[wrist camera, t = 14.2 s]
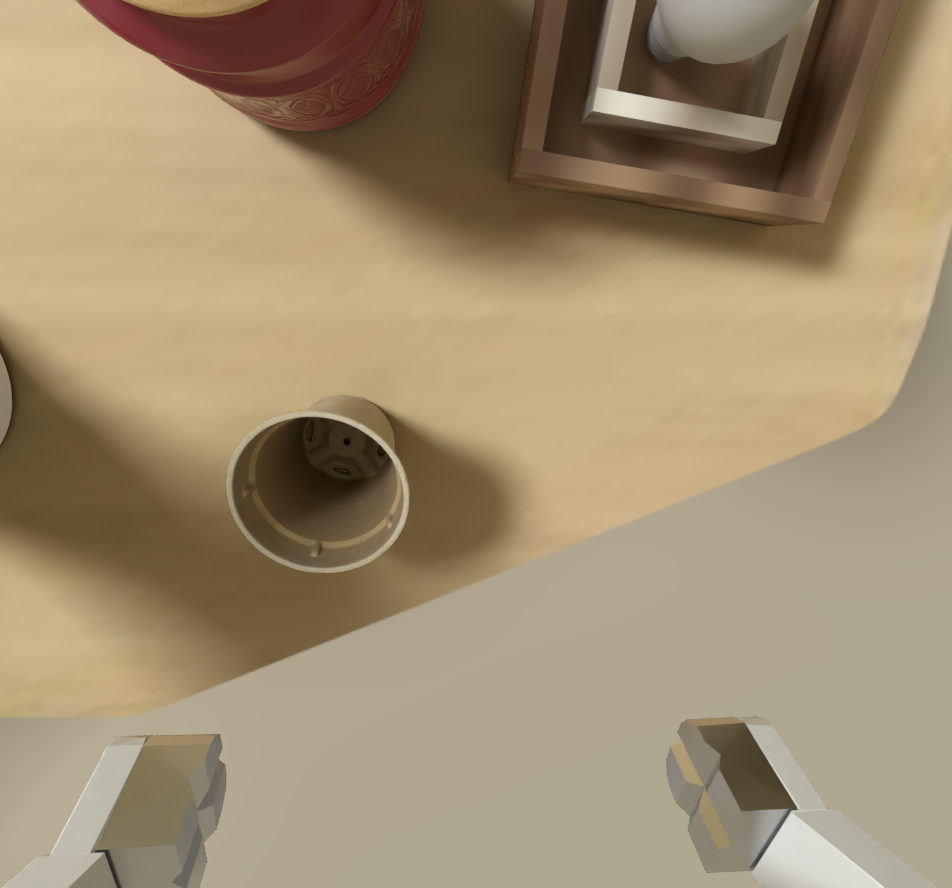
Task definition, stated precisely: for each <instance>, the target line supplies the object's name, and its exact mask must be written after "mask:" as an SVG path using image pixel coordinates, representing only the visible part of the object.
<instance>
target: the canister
mask: <svg viewBox="0 0 952 888" xmlns="http://www.w3.org/2000/svg"><path fill="white" fill-rule="evenodd" d="M76 1H77V2H78V3H79V4H80V5H81V6H82V7H83V8H84V9H85V10H86V11H87V12H88V13H90V14H91V15H92V16H93V17H94V18H95V19H97V20H98V21H99V22H100V23H102V24H103V25H104V26H105V27H107V28H108V29H109V30H111V31H112V32H113V33H115V34H116V35H118V36H119V37H121V38H123V39H124V40H126V41H127V42H129V43H130V44H132V45H134V46H136V47H138V48H139V49H141V50H143V51H145V52H147V53H149V54H151V55H153V56H155V57H156V58H157V59H159V60H160V61H161V62H163V63H164V64H165V65H167V66H168V67H170V68H171V69H173V70H174V71H176V72H177V73H179V74H181V75H183V76H184V77H186V78H188V79H190V80H192V81H194V82H196V83H198V84H200V85H203V86H205V87H207V88H209V89H210V90H211V91H212V92H213V93H214V94H215V95H217V96H218V97H219V98H221V99H222V100H223V101H225V102H226V103H227V104H229V105H230V106H232V107H234V108H235V109H237V110H239V111H240V112H242V113H244V114H246V115H247V116H249V117H251V118H253V119H255V120H258V121H260V122H262V123H265V124H268V125H271V126H274V127H278V128H282V129H287V130H295V131H320V130H326V129H331V128H335V127H339V126H342V125H345V124H348V123H350V122H353V121H355V120H357V119H359V118H360V117H362V116H364V115H366V114H367V113H368V112H370V111H371V110H373V109H374V108H375V107H376V106H377V105H378V104H380V103H381V102H382V101H383V100H384V99H385V98H386V97H387V95H388V94H389V93H390V92H391V91H392V89H393V88H394V87H395V85H396V84H397V82H398V81H399V79H400V77H401V76H402V74H403V72H404V71H405V69H406V67H407V65H408V63H409V61H410V59H411V56H412V54H413V51H414V49H415V46H416V43H417V40H418V37H419V33H420V29H421V24H422V19H423V13H424V4H425V0H76Z"/></svg>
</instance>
